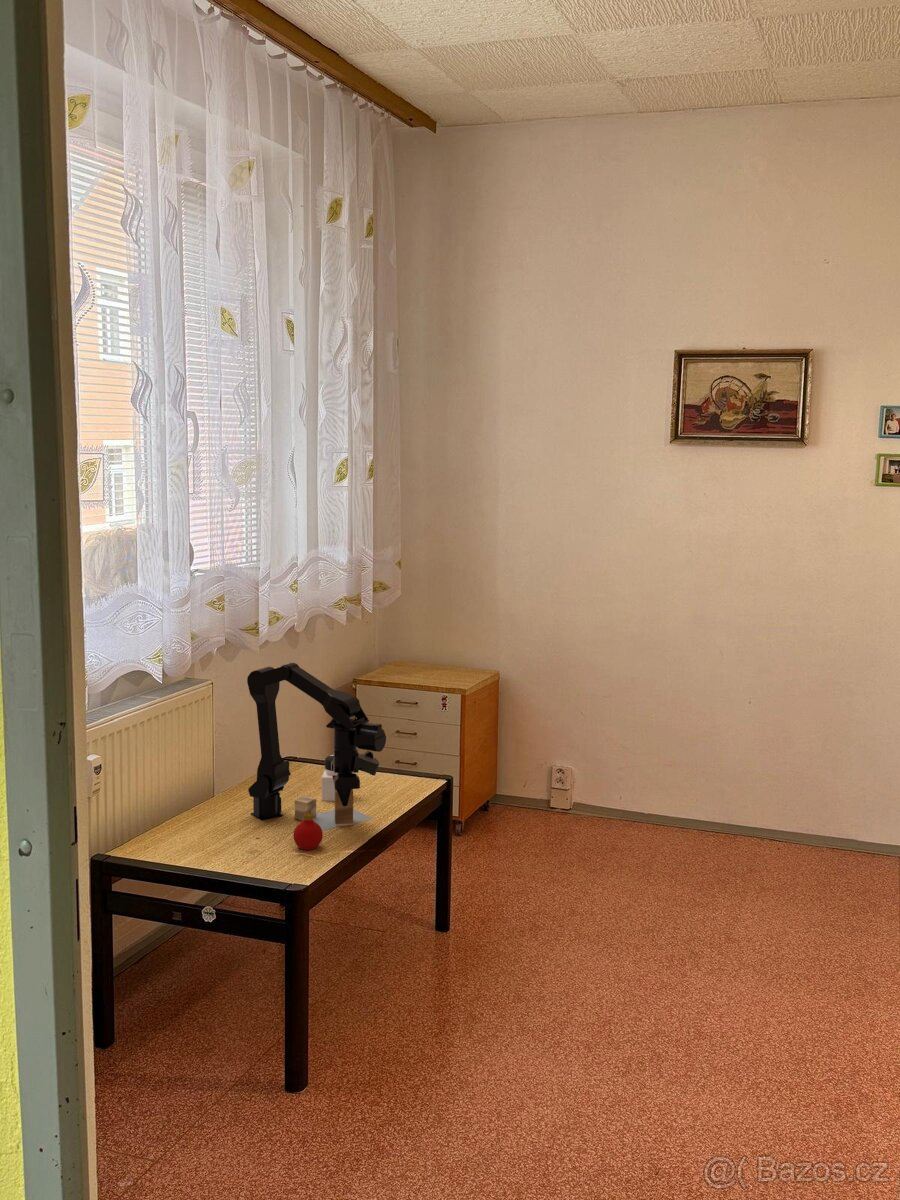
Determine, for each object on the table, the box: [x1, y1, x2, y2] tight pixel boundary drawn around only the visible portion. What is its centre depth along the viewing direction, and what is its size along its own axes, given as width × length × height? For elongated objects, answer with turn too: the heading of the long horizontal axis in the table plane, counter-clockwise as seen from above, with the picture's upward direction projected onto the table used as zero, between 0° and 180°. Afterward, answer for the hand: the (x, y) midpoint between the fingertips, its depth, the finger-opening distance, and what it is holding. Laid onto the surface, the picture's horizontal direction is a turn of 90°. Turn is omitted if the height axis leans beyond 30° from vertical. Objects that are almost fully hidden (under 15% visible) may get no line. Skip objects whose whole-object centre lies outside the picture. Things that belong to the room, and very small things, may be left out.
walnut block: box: [334, 789, 354, 827], centre depth 295 cm, size 4×4×9 cm
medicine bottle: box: [321, 754, 336, 802], centre depth 315 cm, size 7×7×12 cm
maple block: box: [294, 795, 317, 822], centre depth 298 cm, size 4×4×5 cm
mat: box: [300, 808, 374, 832], centre depth 298 cm, size 16×12×1 cm
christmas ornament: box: [293, 810, 324, 851], centre depth 276 cm, size 7×7×10 cm
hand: (344, 805), depth 289 cm, fingers closed
